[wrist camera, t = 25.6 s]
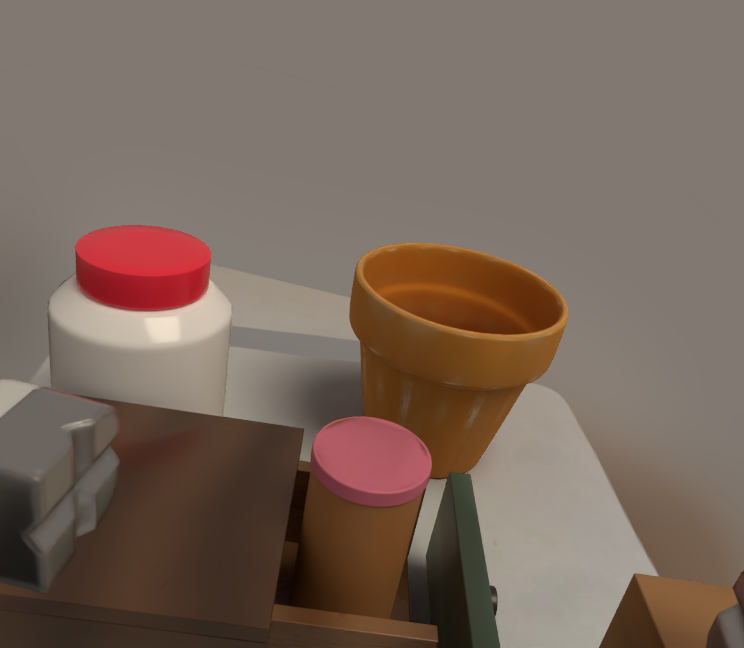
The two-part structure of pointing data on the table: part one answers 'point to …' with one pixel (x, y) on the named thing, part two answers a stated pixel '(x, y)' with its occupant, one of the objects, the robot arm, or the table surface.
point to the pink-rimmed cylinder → (358, 516)
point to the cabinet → (173, 541)
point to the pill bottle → (141, 322)
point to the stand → (666, 613)
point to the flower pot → (450, 343)
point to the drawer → (401, 587)
